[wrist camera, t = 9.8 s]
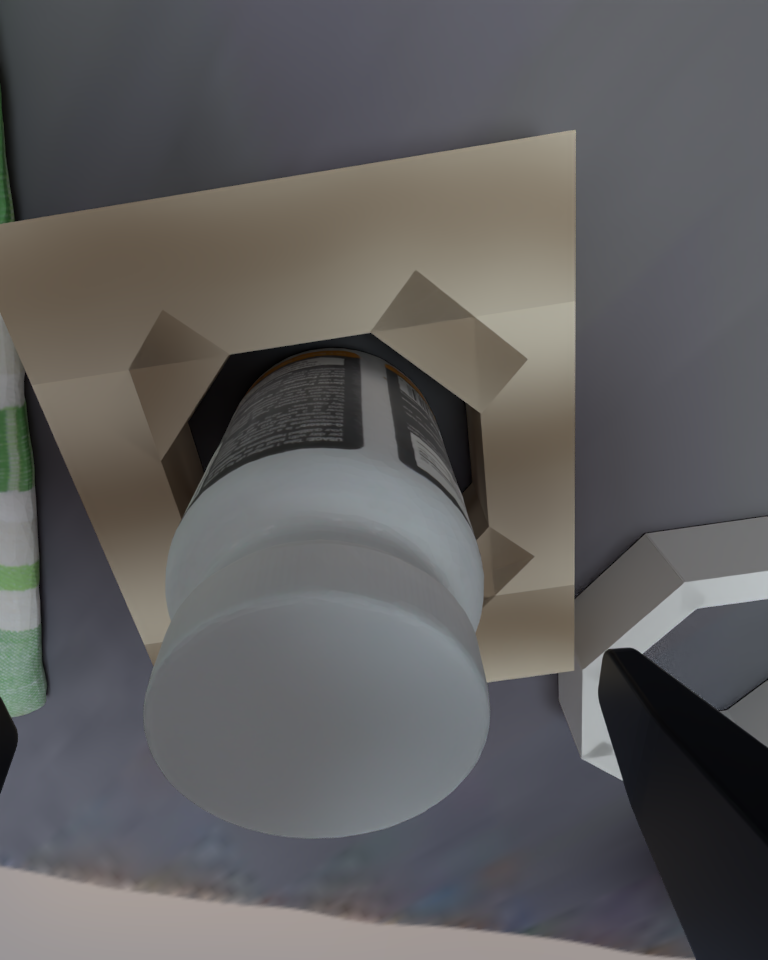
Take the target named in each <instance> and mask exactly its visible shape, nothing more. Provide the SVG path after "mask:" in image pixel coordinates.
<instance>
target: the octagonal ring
mask: <svg viewBox="0 0 768 960" xmlns="http://www.w3.org/2000/svg"><path fill="white" fill-rule="evenodd" d="M763 599H768V516H766V517H759V518H752V519H745V520H738V521H731V522H724V523H717V524H709V525H702V526H695V527H688V528H681V529H674V530H667V531H660V532H653V533H646V534H645V535H644V536H643V537H641V538H640V539H639V540H638V541H637V542H636V543H635V544H634V545H633V546H632V547H631V548H630V549H628V550H627V551H626V552H625V553H624V554H623V555H622V556H621V557H620V558H619V559H618V560H617V561H616V562H614V563H613V564H612V565H611V566H610V567H609V568H608V569H607V570H606V571H605V572H604V573H603V574H601V575H600V576H599V577H598V578H597V579H596V580H595V581H594V582H593V583H592V584H591V585H590V586H588V587H587V588H586V589H585V590H584V591H583V592H582V593H581V594H580V595H579V596H578V597H577V598H576V599H574V671H569V672H561V673H558V686H559V698H558V700H559V702H560V705H561V708H562V710H563V713H564V715H565V718H566V721H567V723H568V726H569V728H570V731H571V734H572V736H573V739H574V741H575V744H576V747H577V749H578V752H579V755H580V757H581V759H583V760H585V761H587V762H589V763H591V764H592V765H594V766H596V767H598V768H600V769H602V770H604V771H605V772H607V773H609V774H611V775H613V776H615V777H617V778H618V779H620V780H622V781H623V779H622V776H621V772H620V769H619V766H618V763H617V759H616V756H615V753H614V750H613V746H612V743H611V740H610V737H609V733H608V730H607V727H606V724H605V720H604V717H603V714H602V711H601V707H600V704H599V699H598V685H599V678H600V671H601V665H602V658H603V654H604V652H605V651H606V650H608V649H614V648H634V649H636V650H638V651H639V652H640V653H642V654H643V653H644V652H645V651H647V650H648V649H649V648H650V647H651V646H653V645H654V644H655V643H656V642H657V641H659V640H660V639H661V638H662V637H663V636H664V635H666V634H667V633H668V632H669V631H670V630H672V629H673V628H674V627H675V626H676V625H678V624H679V623H680V622H681V621H682V620H684V619H685V618H686V617H687V616H688V615H690V614H691V613H692V612H693V611H694V610H696V609H698V608H705V607H712V606H720V605H727V604H734V603H742V602H749V601H756V600H763ZM720 712H721V713H722V714H724V715H725V716H726V717H728V718H729V719H730V720H732V721H733V722H734V723H736V724H737V725H738V726H740V727H741V728H742V729H744V730H745V731H746V732H748V733H749V734H750V735H752V736H753V737H754V738H756V739H757V740H758V741H760V742H761V743H762V744H764V745H765V746H767V747H768V680H767V681H766V682H764V683H763V684H762V685H760V686H759V687H758V688H756V689H755V690H754V691H752V692H751V693H750V694H748V695H747V696H746V697H744V698H743V699H741V700H740V701H739V702H737V703H736V704H735V705H733V706H732V707H731V708H729V709H728V710H725V711H720Z"/></svg>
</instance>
